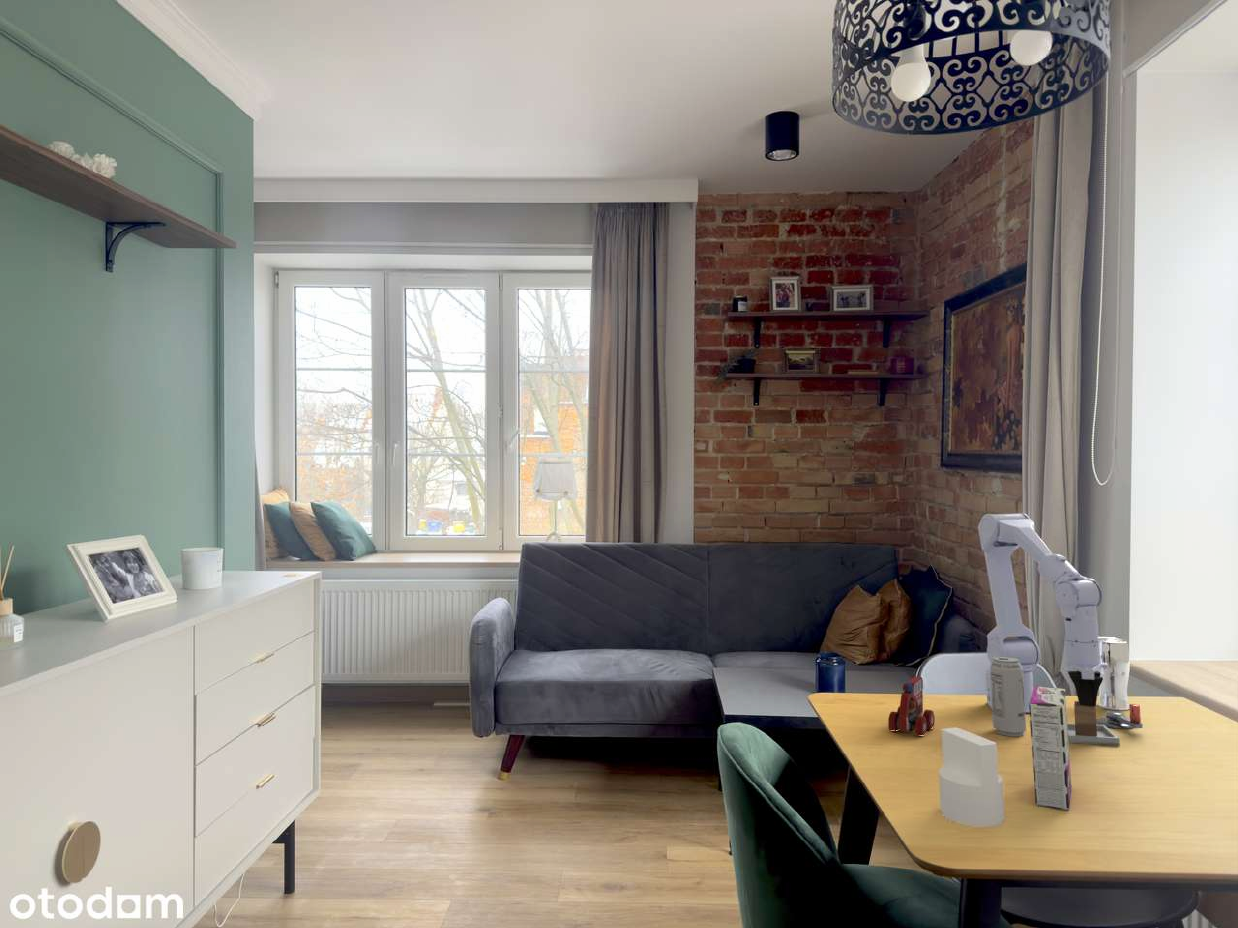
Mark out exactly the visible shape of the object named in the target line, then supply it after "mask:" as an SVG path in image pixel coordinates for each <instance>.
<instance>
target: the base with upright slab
mask: <svg viewBox="0 0 1238 928" xmlns="http://www.w3.org/2000/svg"><path fill="white" fill-rule="evenodd" d="M941 743H942V744H941V745H942V762H943V763H942V765H943V767H941V768H940V769H939V771H938V777H939V778H938V779H939V782H938V783H939V799H940V800H939V801H940V803H939V804H940V813H941V812H942V813H941V815H942V814H943V815H944V816H945V817H944V816H943V815H942V816H943V817H944V818H946V819H947V820H949V821H951V822H953V823H955V824H959V825H962V826H963V825H964V826H969V827H973V826H976V828H992V827H997V826H1000V825H1002V824H1003V823H1004V822H1005V820H1006V819H1005V800H1004V781H1003V776H1001V774H999V767H998V766H999V764H998V761H999V760H998V743H997V742H995V741H993V740H989V739H988V738H985V737H982V736H980V735H977V734H975V733H973V732H969V731H967V730H964V729H962V728H960V727H947V728H941Z"/></svg>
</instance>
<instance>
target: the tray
mask: <svg viewBox="0 0 1238 928" xmlns="http://www.w3.org/2000/svg"><path fill="white" fill-rule="evenodd" d="M1067 729H1068V744H1085V745H1104V746H1120V745H1121V743H1120V738H1119V736H1118V735H1116V733H1114V732H1113V731H1112V730H1111V728H1108V727H1106V726H1105V725H1098V724H1097V736H1081V735H1075V723H1069V722H1067Z"/></svg>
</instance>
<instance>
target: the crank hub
mask: <svg viewBox="0 0 1238 928" xmlns="http://www.w3.org/2000/svg"><path fill="white" fill-rule="evenodd" d="M1096 723H1097V725H1105V726H1106V727H1107V728H1108V729H1115V730H1131V729H1135V728H1134V727H1131V726H1129V725H1127V724H1125V723H1122V722H1120V721H1118V720H1113V719H1109V718H1106V717H1100V718H1099V717H1098V718H1096Z"/></svg>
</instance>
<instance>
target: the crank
mask: <svg viewBox="0 0 1238 928" xmlns="http://www.w3.org/2000/svg"><path fill="white" fill-rule="evenodd" d="M1105 718H1109V719H1113V720H1118V721H1120V722H1122V723H1125V724H1127V725H1129V726H1131V727H1134V728H1133V729H1143V723H1142V722H1141V719H1142V718H1141V706H1140V704H1135V703H1129V717H1126V716H1125V715H1124V713H1123V712H1121V711H1119V710H1106V711H1105Z"/></svg>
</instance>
